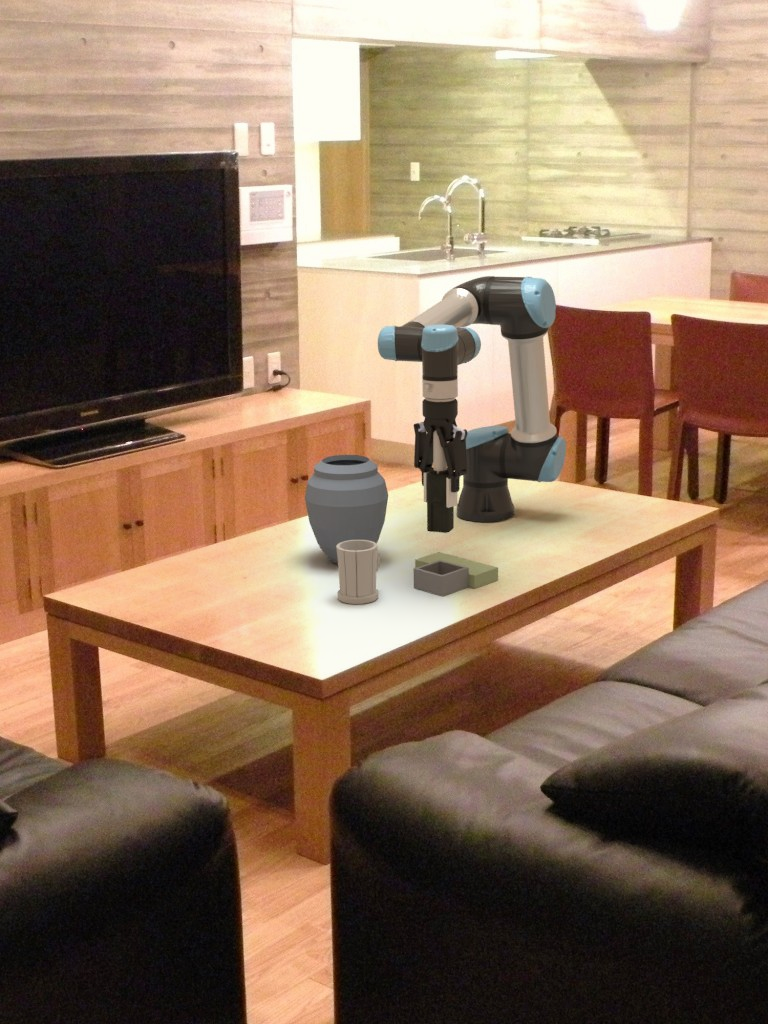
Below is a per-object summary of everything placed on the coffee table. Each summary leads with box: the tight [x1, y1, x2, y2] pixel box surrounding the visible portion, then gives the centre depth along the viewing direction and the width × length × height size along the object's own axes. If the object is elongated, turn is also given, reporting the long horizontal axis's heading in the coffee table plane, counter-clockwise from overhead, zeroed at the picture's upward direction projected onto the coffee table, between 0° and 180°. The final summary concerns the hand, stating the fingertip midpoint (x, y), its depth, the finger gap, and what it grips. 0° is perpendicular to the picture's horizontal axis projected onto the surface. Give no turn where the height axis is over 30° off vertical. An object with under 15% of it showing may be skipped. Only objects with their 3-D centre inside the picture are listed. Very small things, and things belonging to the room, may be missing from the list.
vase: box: [304, 454, 389, 565], centre depth 323 cm, size 20×20×24 cm
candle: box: [426, 430, 455, 534], centre depth 298 cm, size 5×5×25 cm
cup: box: [336, 540, 381, 605], centre depth 298 cm, size 10×9×12 cm
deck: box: [413, 551, 499, 597], centre depth 310 cm, size 18×17×4 cm
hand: (440, 503), depth 300 cm, fingers closed on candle, 6 cm apart
